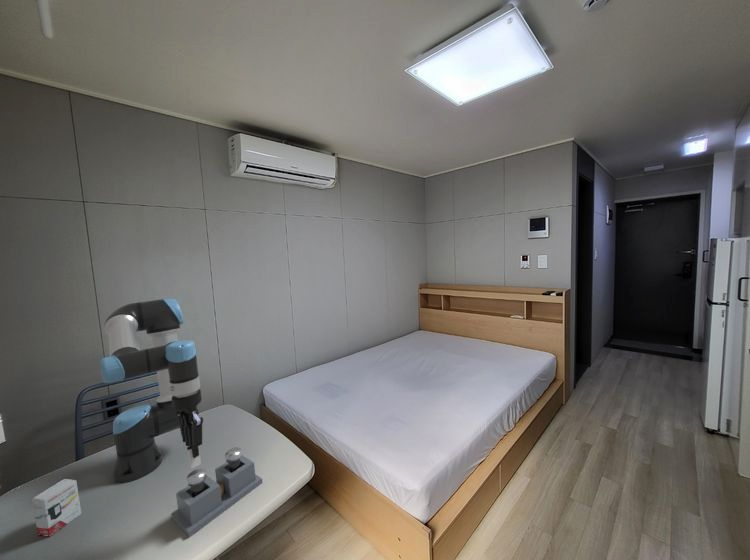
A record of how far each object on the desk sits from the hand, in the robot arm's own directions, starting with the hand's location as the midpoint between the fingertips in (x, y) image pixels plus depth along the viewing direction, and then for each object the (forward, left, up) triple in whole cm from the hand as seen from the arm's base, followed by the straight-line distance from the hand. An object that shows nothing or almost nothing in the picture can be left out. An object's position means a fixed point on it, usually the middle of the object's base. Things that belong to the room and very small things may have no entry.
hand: (195, 465), depth 93 cm
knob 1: (0, 0, -11) cm, 11 cm away
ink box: (-35, -26, -16) cm, 47 cm away
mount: (0, +6, -16) cm, 17 cm away
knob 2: (0, +12, -11) cm, 16 cm away
